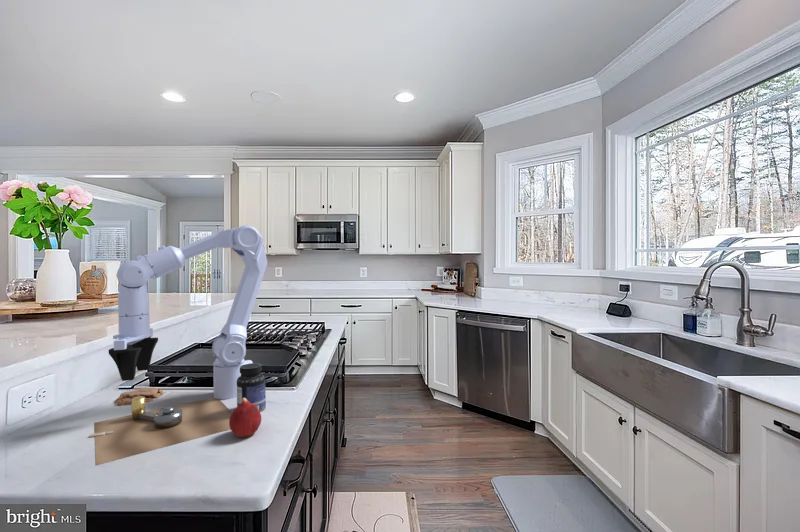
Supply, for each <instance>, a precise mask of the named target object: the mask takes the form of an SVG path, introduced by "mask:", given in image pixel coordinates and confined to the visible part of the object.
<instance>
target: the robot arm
mask: <svg viewBox="0 0 800 532" xmlns="http://www.w3.org/2000/svg"><path fill="white" fill-rule="evenodd" d="M264 241H265V239H264V237H263V236H262V235H261V233H260V232H259V230H258V229H257V228H256V227H254V226H252V225H249V224H245V225H241V226H239V227H233V228H229V229H225V230H220V231H217V232H214V233H212V234H209V235H207V236H205V237H203V238H202V237H201V238H199V239H198V240H195V241H193V242H191V243H188V244H187V245H184V246H181V247H176V246H172V245H168V246H165V245H162V246H159V247H158V246H157V247H158V248H157V250H155V251H153V252H150V253H148V254H145V255H143V256H142V255H137V256H135V260H128V261H127V262H124V263H122V264H121V265H120V266H119V267H118V269H117V273H116V278H117V280H118V282H119V285H118V287H117V290H118V295H117V309H118V311H117V312H118V317H117V318H118V334H115V335H112V339H113V347H112V348H109V349H108V355H109V356H110V357H111V358H112V361H114V363H115V365H116V367H117V369H118V373H119V375H120V379H121V381H122V382H123V381H126V382H127V381H133V380H135V377H136V373H137V372H142V371H148V370H149V369H150V367H151V366H150V365H151V361H152V357H153V352H154V349H155V348H156V345H157V343H158V342H159V338H158V337H153V336H154V333H153V330H154V329H153V328H151V327H150V326H151V325H150V324H151V322H150V320H151V319H150V298H149V297H150V294H149V292H148V281H149V280H150V279H153V280H156V279H158V278H160V277H164V276H166V275H168V274H170V273H173V272H175V271H177V270H179V269H182V268H183V266H184V264H185V262H186V260H188V259H191V258H194V257H197V256H199V255H201V254H204V253H206V252H209V251H212V250H215V249H217V248H222V249H231V250H232V251H234V253H236V254H237V255H238V256H239V257H240V258H241V261H242V262H243V263H244V265H245V267H244V269H243V272H242V274H241V275H242V276H241V278H240V282H239V283H238V284H239V285H238V287H237V291H236V293H235V296H234V299H233V301H232V305H231V308H230V310H229V314H228V317H227V320H226V323H225V324H224V325H223V327H222V328H221V331H220V333H219V335H218V336H217V337H216V338H215V339H214V340H213V343H212V346H211V349H212V353H213V354H214V356H216V357H215V360H214V361H213V363H212V365H213V397H215V398H217V399H219V400H231V399H237V379H238V378H239V377H240V376H241V373H240V366H242V365H245V364H250V363H254V362H253V361H252V360H251V359H246V360H245V357H246V354H247V348H246V341H247V338H248V334H247V328H248V324H249V321H250V319H251V314H252V312H253V310H254V306H255V304H256V300H257V297H258V293H259V290H260V287H261V284H262V282H263V279H264V275H265V272H266V269H267V266H268V259H267V255H266V250H265V246H264V244H265V243H264ZM136 371H137V372H136Z"/></svg>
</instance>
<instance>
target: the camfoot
mask: <svg viewBox="0 0 800 532" xmlns="http://www.w3.org/2000/svg"><path fill="white" fill-rule="evenodd" d="M162 408H163V411H160V412H158V413H156V414H155V413H150V412H147V411H146V403H145V397H144V396H140V397H135V398H133V399H132V404H131V415H132V419H143V420H148V421H153V422H154V426H155V427H157V428H166V427H171V426H174V425H177V424H179V423H181V422H182V410H181V409H174V407H171V406H165V407H162Z"/></svg>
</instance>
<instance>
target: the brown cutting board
mask: <svg viewBox="0 0 800 532" xmlns="http://www.w3.org/2000/svg"><path fill="white" fill-rule="evenodd" d="M170 407H174V409H181V410H182V422H181V423H179V424H177V425H174V426H171V427H166V428H157V427H155V426H154V422H153V421H148V420H143V419H132V414H129V415H124V416H120V417H115V418H111V419H106V420H100V421H97V422H94V432H93V433H90V435H89V436H88V438H94V447H95V450H94V451H95V466H99V465H104V464H107V463H110V462H114V461H117V460H122V459H126V458H129V457H133V456H137V455H140V454H144V453H148V452H152V451H155V450H159V449H163V448H167V447H170V446H174V445H177V444H182V443H185V442H189V441H192V440H197V439H202V438H205V437H209V436H212V435H215V434H218V433H222V432H227V431H231V429H230V426H229V420H230V416H231V414H232V412H233V411H232V410H230V409H229V408H228V407H227V406H226V405H225V403H223V401H222V400H221V399H217V398H215V397H214V396H213V397H208V398H204V399H200V400H195V401H191V402H187V403H186V402H185V403H181V404H177V405H176V404H175V405H172V406H170ZM163 408H164V407H162V408H158V409H152V410H148V411H146V412H150V413H155V414H156V413H158V412H160V411H163Z"/></svg>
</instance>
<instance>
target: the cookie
mask: <svg viewBox="0 0 800 532" xmlns="http://www.w3.org/2000/svg"><path fill="white" fill-rule="evenodd" d="M162 395H164V391H163V389H161V388H157V387H145V388H138V389H134V390H129V391H125V392H122V393H120V395H119V396H118V397H117V398H116V399H115V402H114V404H115V405H116V404H117V406H122V407H123V406H129V405H130V406H132V399H133V398H135V397H140V396H144V397H145V404H147V403H150V402H153V401H154V400H155V399H157V398H160V397H161V396H162Z"/></svg>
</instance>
